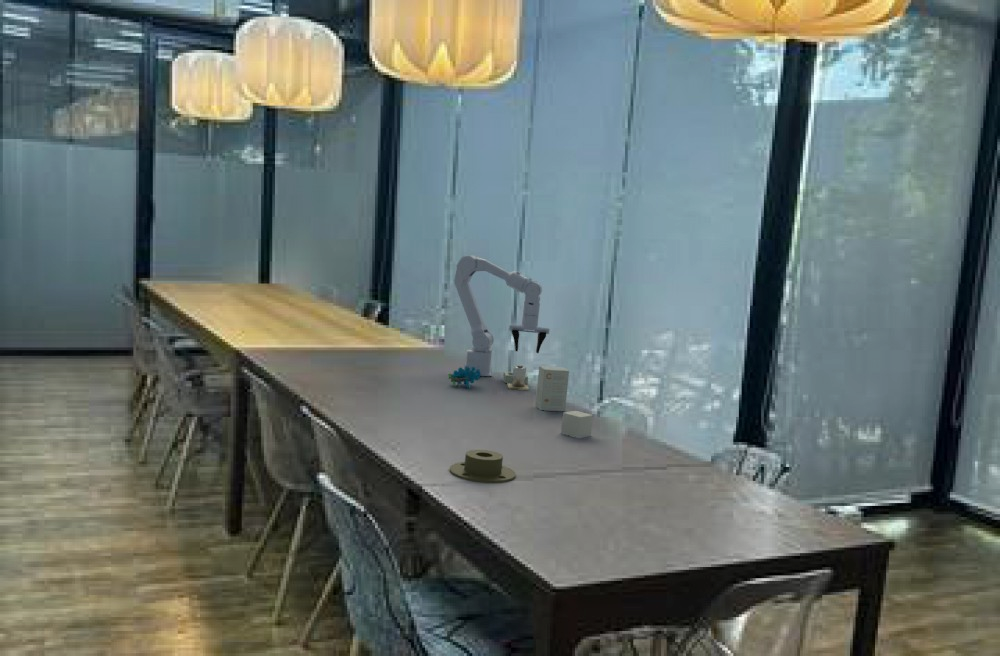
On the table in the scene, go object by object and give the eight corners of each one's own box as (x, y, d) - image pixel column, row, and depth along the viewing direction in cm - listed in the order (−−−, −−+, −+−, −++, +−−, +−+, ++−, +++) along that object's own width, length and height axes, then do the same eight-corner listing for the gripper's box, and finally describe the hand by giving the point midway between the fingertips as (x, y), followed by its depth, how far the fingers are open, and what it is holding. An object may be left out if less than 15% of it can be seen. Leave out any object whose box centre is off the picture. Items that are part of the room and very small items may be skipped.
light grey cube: (578, 438, 249) (580, 417, 248) (560, 433, 253) (563, 412, 252) (590, 436, 254) (593, 414, 253) (573, 431, 257) (575, 410, 257)
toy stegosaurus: (479, 380, 313) (481, 363, 305) (481, 394, 309) (483, 378, 301) (447, 382, 311) (448, 365, 303) (449, 396, 308) (450, 380, 300)
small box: (558, 407, 289) (563, 366, 287) (565, 411, 283) (569, 370, 281) (534, 406, 287) (538, 365, 285) (540, 410, 280) (544, 369, 279)
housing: (504, 383, 320) (505, 375, 320) (502, 379, 328) (503, 371, 328) (527, 385, 321) (528, 377, 320) (524, 381, 329) (525, 373, 328)
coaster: (508, 388, 311) (508, 387, 311) (506, 384, 318) (506, 383, 318) (528, 390, 312) (528, 388, 312) (526, 386, 319) (526, 384, 319)
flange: (481, 442, 216) (437, 451, 204) (530, 458, 207) (487, 467, 195) (479, 461, 217) (435, 471, 205) (528, 478, 207) (485, 489, 196)
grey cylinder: (512, 386, 313) (514, 366, 312) (511, 384, 317) (513, 364, 317) (524, 387, 313) (526, 367, 313) (523, 385, 318) (525, 365, 317)
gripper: (511, 314, 324) (508, 351, 326) (552, 317, 326) (548, 355, 327) (510, 312, 331) (506, 348, 333) (549, 315, 333) (545, 352, 334)
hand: (526, 351), depth 330 cm, fingers open, 7 cm apart
